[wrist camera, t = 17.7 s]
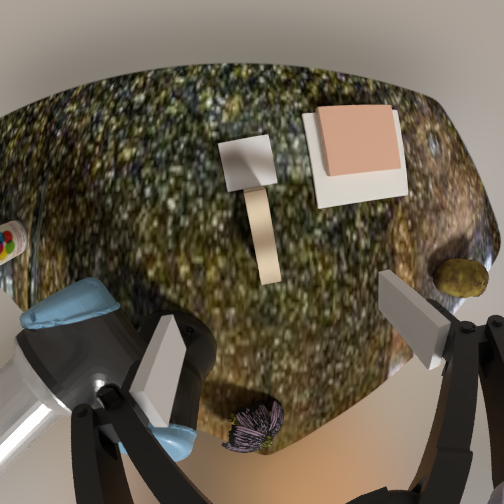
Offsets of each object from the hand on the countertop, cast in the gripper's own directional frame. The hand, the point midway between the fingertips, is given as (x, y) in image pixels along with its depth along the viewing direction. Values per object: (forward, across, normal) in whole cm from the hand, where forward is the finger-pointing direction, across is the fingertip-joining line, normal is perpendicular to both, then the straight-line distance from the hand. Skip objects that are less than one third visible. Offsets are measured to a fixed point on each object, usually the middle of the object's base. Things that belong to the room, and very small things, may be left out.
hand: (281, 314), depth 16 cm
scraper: (+25, 0, -3) cm, 25 cm away
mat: (+25, -17, -8) cm, 31 cm away
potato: (+25, -37, +16) cm, 48 cm away
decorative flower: (+25, +9, +41) cm, 49 cm away
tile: (+23, -17, -5) cm, 29 cm away
